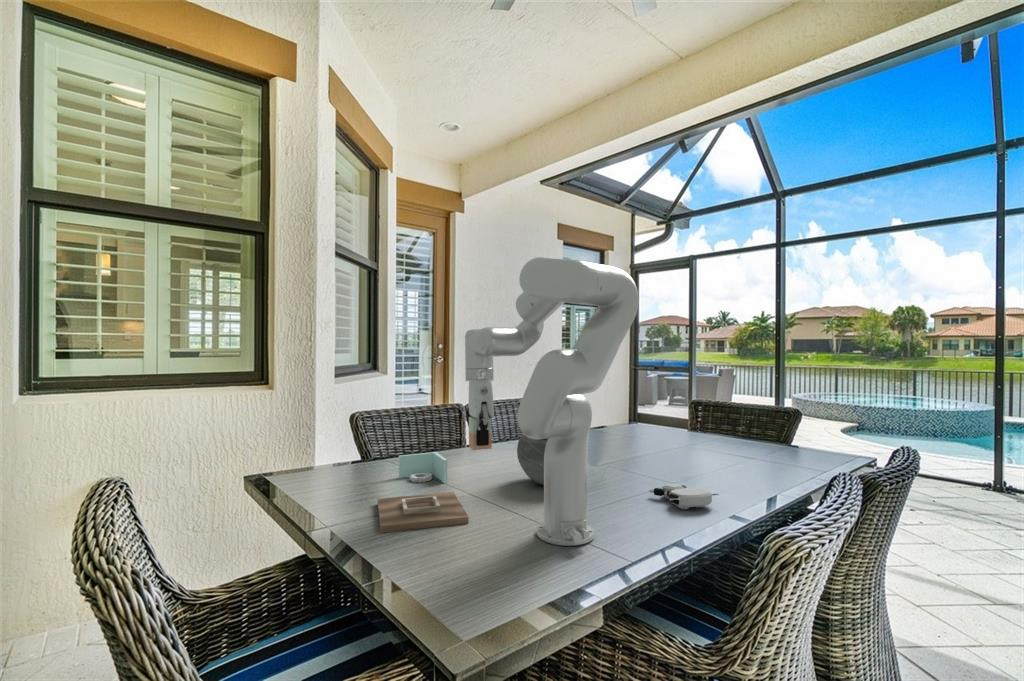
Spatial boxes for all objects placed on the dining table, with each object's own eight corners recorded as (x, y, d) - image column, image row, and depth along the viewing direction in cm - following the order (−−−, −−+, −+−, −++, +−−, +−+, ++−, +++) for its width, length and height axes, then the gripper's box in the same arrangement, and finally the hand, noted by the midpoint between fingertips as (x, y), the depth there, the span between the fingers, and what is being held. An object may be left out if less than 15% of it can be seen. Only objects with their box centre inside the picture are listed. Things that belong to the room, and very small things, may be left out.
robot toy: (646, 500, 133) (681, 514, 119) (645, 484, 133) (680, 496, 119) (683, 496, 137) (721, 509, 123) (682, 480, 137) (720, 491, 123)
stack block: (491, 448, 127) (491, 418, 127) (473, 450, 126) (472, 419, 126) (487, 445, 132) (486, 416, 132) (469, 446, 131) (468, 416, 131)
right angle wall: (398, 479, 152) (398, 455, 152) (435, 475, 157) (435, 452, 157) (407, 489, 141) (407, 464, 141) (447, 484, 146) (447, 459, 146)
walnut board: (468, 523, 113) (468, 511, 113) (380, 532, 107) (380, 520, 107) (453, 497, 132) (453, 487, 132) (377, 504, 126) (377, 494, 126)
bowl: (585, 496, 134) (585, 442, 134) (510, 491, 138) (510, 438, 138) (588, 476, 154) (588, 429, 154) (523, 472, 158) (523, 426, 159)
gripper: (501, 376, 122) (502, 448, 122) (485, 373, 139) (486, 437, 138) (472, 377, 120) (473, 450, 120) (459, 374, 136) (460, 439, 136)
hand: (480, 442), depth 129 cm, fingers closed on stack block, 5 cm apart
